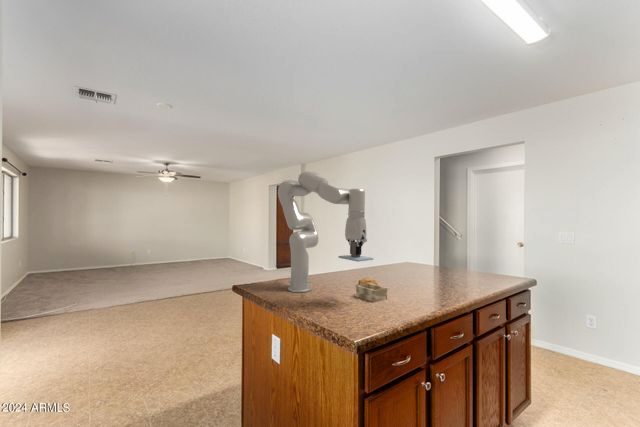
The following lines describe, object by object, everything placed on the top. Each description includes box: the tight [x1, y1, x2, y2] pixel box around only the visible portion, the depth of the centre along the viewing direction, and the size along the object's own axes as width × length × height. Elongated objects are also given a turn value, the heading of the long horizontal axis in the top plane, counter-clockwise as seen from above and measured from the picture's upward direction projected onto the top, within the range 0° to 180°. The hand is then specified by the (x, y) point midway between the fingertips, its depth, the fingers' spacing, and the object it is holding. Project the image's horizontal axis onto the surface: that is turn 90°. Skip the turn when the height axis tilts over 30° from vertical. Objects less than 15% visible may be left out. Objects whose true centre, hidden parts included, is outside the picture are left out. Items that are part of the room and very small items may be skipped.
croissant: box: [357, 277, 379, 286], centre depth 175 cm, size 21×10×8 cm, turn 20°
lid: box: [338, 241, 374, 263], centre depth 150 cm, size 13×10×8 cm
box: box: [355, 283, 388, 303], centre depth 157 cm, size 12×9×6 cm
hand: (355, 254), depth 150 cm, fingers closed on lid, 3 cm apart
